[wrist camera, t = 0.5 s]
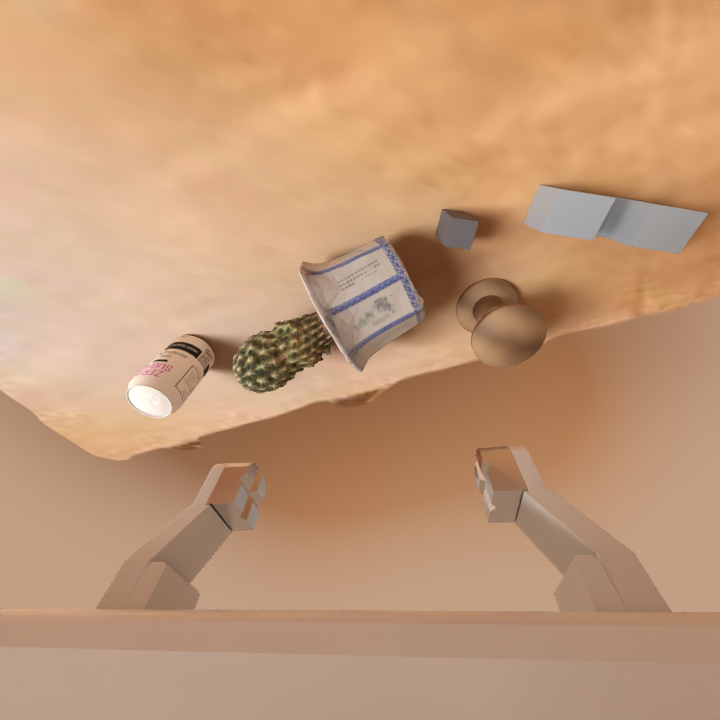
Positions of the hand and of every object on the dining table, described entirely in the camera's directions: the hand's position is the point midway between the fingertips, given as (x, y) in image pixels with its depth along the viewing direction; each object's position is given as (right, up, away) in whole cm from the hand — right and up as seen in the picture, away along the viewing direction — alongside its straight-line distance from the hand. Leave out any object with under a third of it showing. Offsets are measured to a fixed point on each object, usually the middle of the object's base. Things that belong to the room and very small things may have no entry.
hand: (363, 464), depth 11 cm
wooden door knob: (+22, +13, +41) cm, 48 cm away
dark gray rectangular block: (+13, +24, +34) cm, 44 cm away
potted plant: (-5, +14, +42) cm, 45 cm away
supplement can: (-33, +6, +49) cm, 60 cm away
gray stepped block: (+34, +25, +32) cm, 53 cm away
